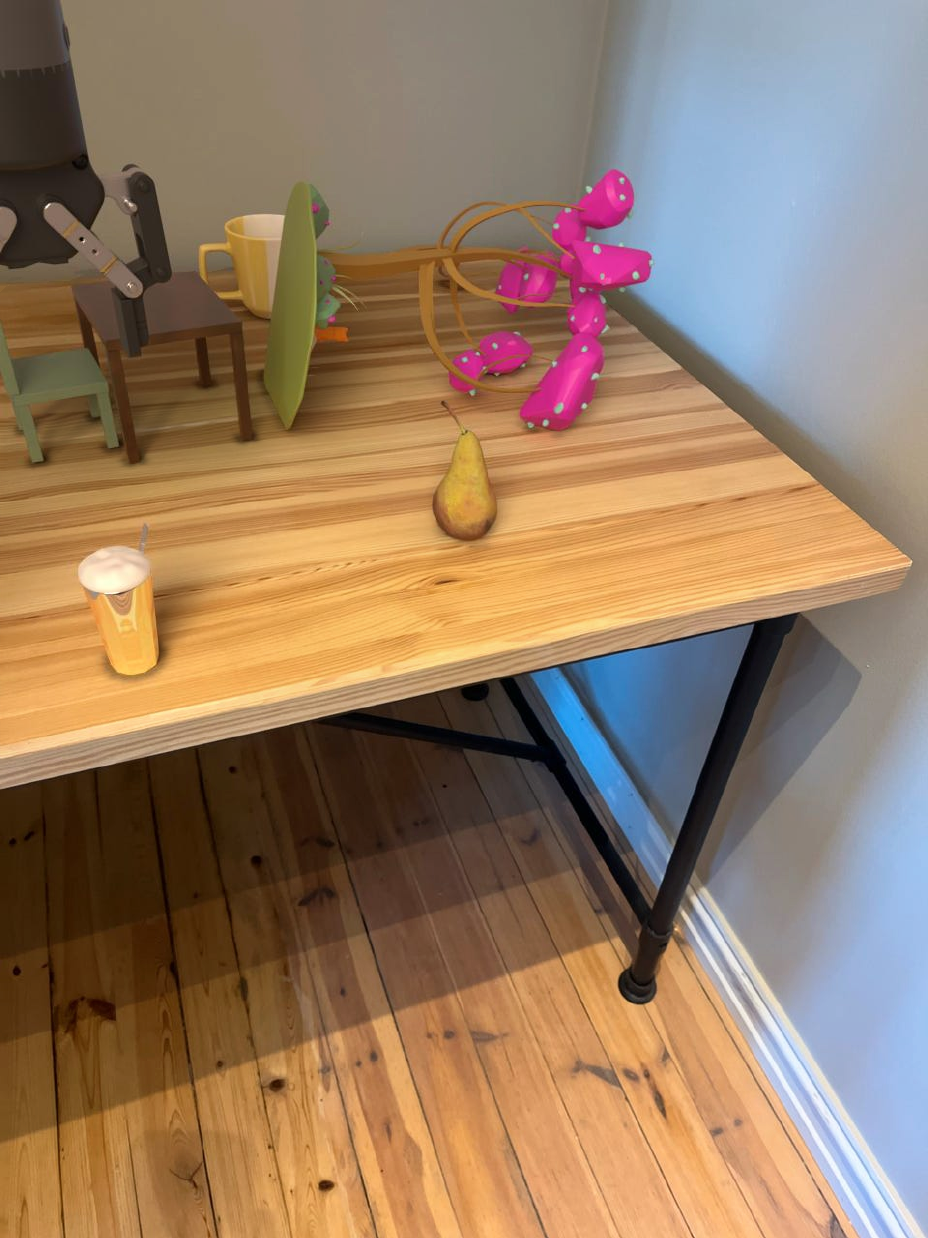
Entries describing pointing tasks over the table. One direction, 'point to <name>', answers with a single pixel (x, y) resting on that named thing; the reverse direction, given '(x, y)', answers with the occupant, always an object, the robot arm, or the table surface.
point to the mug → (250, 259)
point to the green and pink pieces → (522, 282)
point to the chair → (55, 388)
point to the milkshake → (123, 605)
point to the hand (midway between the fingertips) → (59, 364)
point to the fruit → (465, 491)
